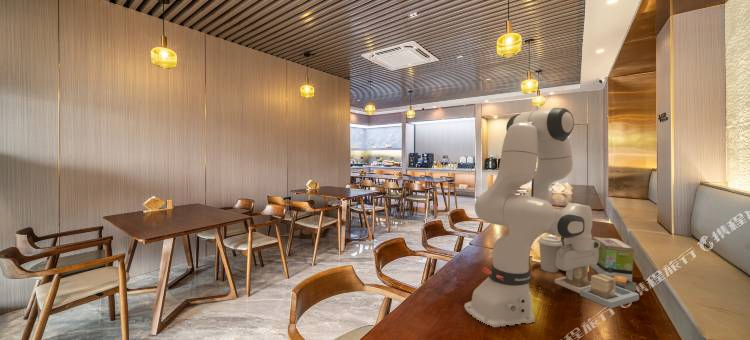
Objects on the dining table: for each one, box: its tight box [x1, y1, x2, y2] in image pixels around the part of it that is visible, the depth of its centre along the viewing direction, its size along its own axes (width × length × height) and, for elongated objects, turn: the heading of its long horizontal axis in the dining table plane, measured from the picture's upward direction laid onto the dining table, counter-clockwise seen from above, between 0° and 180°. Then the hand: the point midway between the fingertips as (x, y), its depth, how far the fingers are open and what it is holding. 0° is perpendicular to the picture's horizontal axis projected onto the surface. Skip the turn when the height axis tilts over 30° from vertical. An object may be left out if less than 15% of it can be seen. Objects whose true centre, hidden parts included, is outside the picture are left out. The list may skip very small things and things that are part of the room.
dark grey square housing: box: [611, 277, 637, 293], centre depth 113 cm, size 7×7×4 cm
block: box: [565, 266, 589, 288], centre depth 115 cm, size 5×5×8 cm
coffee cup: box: [537, 235, 563, 273], centre depth 132 cm, size 10×10×15 cm
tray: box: [554, 276, 591, 294], centre depth 115 cm, size 11×10×2 cm
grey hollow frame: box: [579, 286, 640, 309], centre depth 105 cm, size 16×10×3 cm, turn 112°
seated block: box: [590, 273, 616, 300], centre depth 104 cm, size 5×5×8 cm
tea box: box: [590, 236, 635, 282], centre depth 128 cm, size 15×10×15 cm
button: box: [614, 275, 627, 284], centre depth 113 cm, size 4×4×4 cm
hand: (576, 277), depth 115 cm, fingers closed on block, 5 cm apart
